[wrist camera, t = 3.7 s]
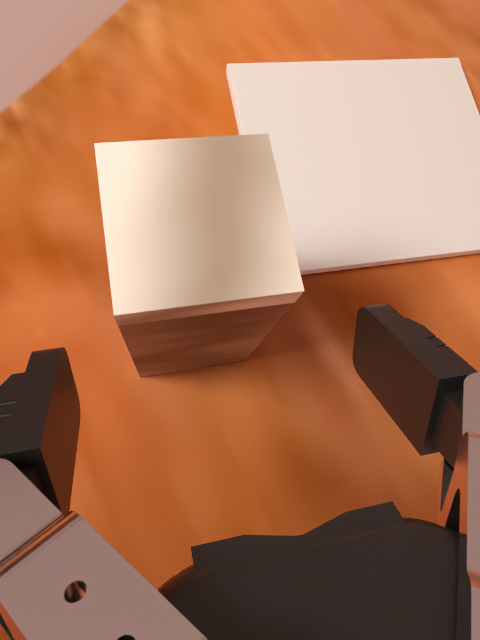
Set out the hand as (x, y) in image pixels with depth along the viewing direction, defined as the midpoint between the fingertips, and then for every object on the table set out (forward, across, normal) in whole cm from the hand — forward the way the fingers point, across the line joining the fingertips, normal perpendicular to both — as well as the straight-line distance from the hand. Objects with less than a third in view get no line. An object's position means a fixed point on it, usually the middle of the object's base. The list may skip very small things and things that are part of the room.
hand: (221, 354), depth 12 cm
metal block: (+9, 0, +4) cm, 10 cm away
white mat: (+15, -12, -2) cm, 19 cm away
